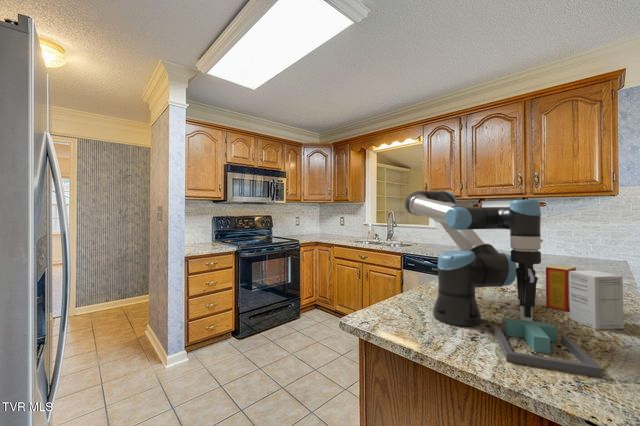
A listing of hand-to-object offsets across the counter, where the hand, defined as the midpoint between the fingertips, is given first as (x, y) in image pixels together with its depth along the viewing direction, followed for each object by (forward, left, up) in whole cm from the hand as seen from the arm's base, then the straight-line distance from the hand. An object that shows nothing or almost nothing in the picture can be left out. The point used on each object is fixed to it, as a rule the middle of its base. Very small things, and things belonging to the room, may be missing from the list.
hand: (526, 326), depth 86 cm
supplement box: (+23, +17, -2) cm, 29 cm away
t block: (0, -7, -2) cm, 7 cm away
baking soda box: (+19, +33, -2) cm, 38 cm away
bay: (0, -12, -2) cm, 12 cm away
